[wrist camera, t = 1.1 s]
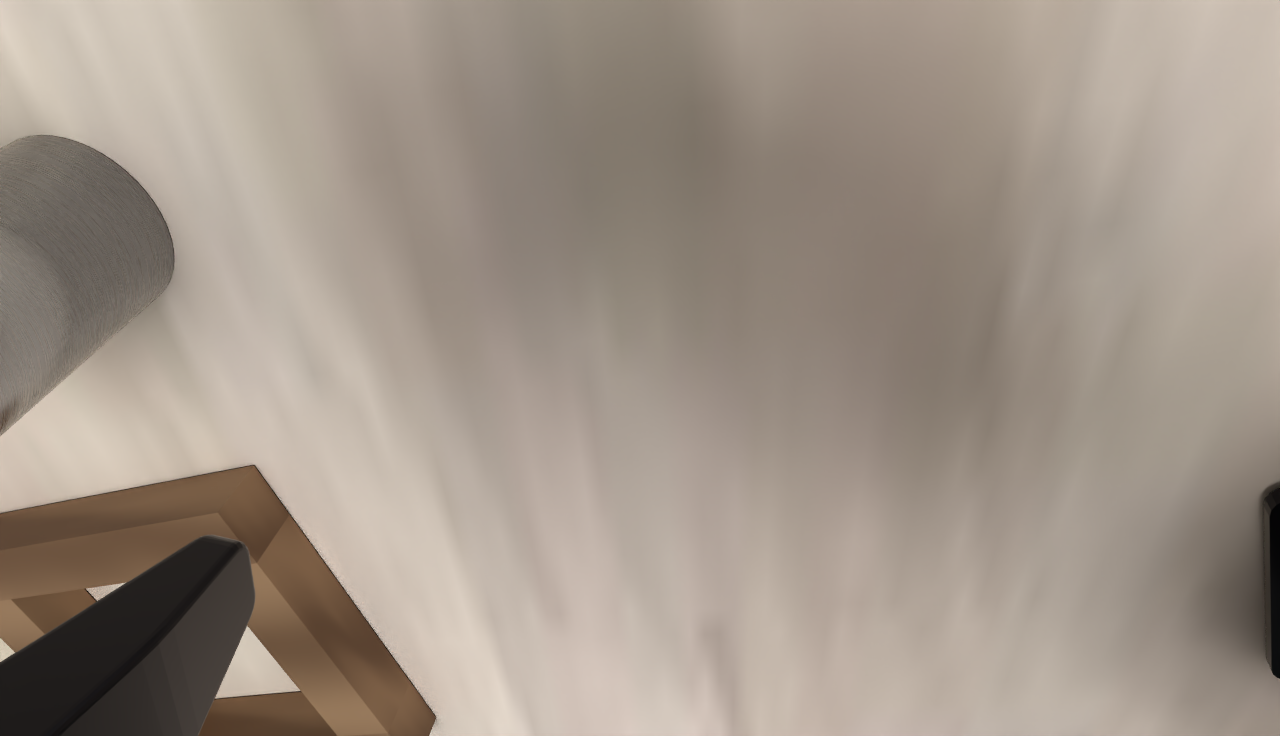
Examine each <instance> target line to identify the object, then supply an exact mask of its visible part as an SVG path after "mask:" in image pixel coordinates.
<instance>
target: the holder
mask: <svg viewBox="0 0 1280 736" xmlns="http://www.w3.org/2000/svg"><path fill="white" fill-rule="evenodd" d="M204 535H216V536H221V537H225V538H230V539H234V540H238V541H241V542H243V543H244V544H245V545H246V546H247V547H248V551H249V555H250V561H251V568H252V574H253V580H254V587H255V604H254V609H253V612H252V615H251V618H250V620H249V622H248V625H247V626H248V627H249V628H250V629H251V631H252V632H253V633H254V634H255V636H256V637H257V638H258V639H259V640H260V642H261V643H262V644H263V645H264V647H265V648H266V649H267V650H268V651H269V653H270V654H271V655H272V656H273V658H274V659H275V660H276V661H277V662H278V664H279V665H280V666H281V667H282V669H283V670H284V671H285V672H286V673H287V675H288V676H289V677H290V678H291V680H292V681H293V682H294V683H295V684H296V686H297V687H298V688H299V689H300V691H301V692H293V693H282V694H271V695H260V696H248V697H237V698H226V699H215V700H214V701H213V703H212V706H211V708H210V710H209V712H208V715H207V717H206V719H205V721H204V724H203V726H202V728H201V730H200V733H199V735H198V736H429V734H430V732H431V729H432V727H433V724H434V722H435V719H436V717H435V716H434V714H433V713H432V711H431V710H430V709H429V707H428V706H427V705H426V703H425V702H424V700H423V699H422V698H421V696H420V695H419V693H418V692H417V691H416V689H415V688H414V687H413V685H412V684H411V682H410V681H409V680H408V678H407V677H406V675H405V674H404V673H403V671H402V670H401V669H400V667H399V666H398V664H397V663H396V662H395V660H394V659H393V657H392V656H391V655H390V653H389V652H388V650H387V649H386V648H385V646H384V645H383V644H382V642H381V641H380V639H379V638H378V637H377V635H376V634H375V632H374V631H373V630H372V628H371V627H370V626H369V624H368V623H367V621H366V620H365V619H364V617H363V616H362V614H361V613H360V612H359V610H358V609H357V608H356V606H355V605H354V603H353V602H352V601H351V599H350V598H349V596H348V595H347V594H346V592H345V591H344V590H343V588H342V587H341V585H340V584H339V583H338V581H337V580H336V578H335V577H334V576H333V574H332V573H331V571H330V570H329V569H328V567H327V566H326V565H325V563H324V562H323V560H322V559H321V558H320V556H319V555H318V553H317V552H316V551H315V549H314V548H313V547H312V545H311V544H310V542H309V541H308V540H307V538H306V537H305V535H304V534H303V533H302V531H301V530H300V529H299V527H298V526H297V524H296V523H295V522H294V520H293V519H292V517H291V516H290V515H289V513H288V512H287V511H286V509H285V508H284V506H283V505H282V504H281V502H280V501H279V499H278V498H277V497H276V495H275V494H274V492H273V491H272V490H271V488H270V487H269V486H268V484H267V483H266V481H265V480H264V479H263V477H262V476H261V474H260V473H259V472H258V470H257V469H256V468H255V466H254V465H253V466H248V467H242V468H237V469H232V470H227V471H221V472H216V473H211V474H206V475H200V476H195V477H190V478H185V479H180V480H174V481H169V482H164V483H159V484H153V485H148V486H143V487H138V488H132V489H127V490H122V491H117V492H111V493H106V494H101V495H96V496H90V497H85V498H80V499H75V500H69V501H64V502H59V503H54V504H48V505H43V506H38V507H33V508H27V509H22V510H17V511H12V512H6V513H1V514H0V638H1V639H2V640H3V641H4V642H5V643H6V644H7V645H8V646H9V647H10V648H11V649H12V650H13V651H14V652H15V653H16V652H17V651H19V650H21V649H22V648H24V647H25V646H27V645H29V644H30V643H32V642H33V641H35V640H36V639H38V638H40V637H41V636H43V635H44V634H46V633H48V632H49V631H51V630H52V629H54V628H56V627H57V626H59V625H60V624H62V623H63V622H65V621H67V620H68V619H70V618H71V617H73V616H75V615H76V614H78V613H79V612H81V611H82V610H84V609H86V608H87V607H89V606H90V605H92V604H94V603H95V602H96V601H95V600H94V599H93V598H92V597H91V596H90V595H89V594H88V592H87V591H86V590H85V588H92V587H99V586H105V585H112V584H119V583H126V582H129V581H130V580H132V579H133V578H135V577H136V576H138V575H140V574H141V573H143V572H144V571H146V570H148V569H149V568H151V567H152V566H154V565H155V564H157V563H159V562H160V561H162V560H163V559H165V558H167V557H168V556H170V555H171V554H173V553H175V552H176V551H178V550H179V549H181V548H182V547H184V546H186V545H187V544H189V543H190V542H192V541H194V540H195V539H197V538H199V537H201V536H204Z"/></svg>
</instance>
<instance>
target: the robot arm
mask: <svg viewBox="0 0 1280 736" xmlns="http://www.w3.org/2000/svg"><path fill="white" fill-rule="evenodd" d="M1263 515H1264V569H1265V624H1266V658H1267V661H1268V663H1269V666H1270V668H1271V670H1272V673H1273V675H1275V676H1276V677H1277V678H1279V679H1280V488H1279V489H1277V490H1275V491H1273V492H1271V493H1270V494H1269V495H1268V496H1267V497H1266V498H1265V501H1264V504H1263ZM254 604H255V587H254V580H253V574H252V568H251V561H250V555H249V551H248V547H247V546H246V545H245V544H244V543H243V542H241V541H238V540H234V539H230V538H225V537H221V536H216V535H204V536H201V537H199V538H197V539H195V540H194V541H192V542H190V543H189V544H187V545H186V546H184V547H182V548H181V549H179V550H178V551H176V552H175V553H173V554H171V555H170V556H168V557H167V558H165V559H163V560H162V561H160V562H159V563H157V564H155V565H154V566H152V567H151V568H149V569H148V570H146V571H144V572H143V573H141V574H140V575H138V576H136V577H135V578H133V579H132V580H130V581H129V582H127V583H125V584H124V585H122V586H121V587H119V588H117V589H116V590H114V591H113V592H111V593H109V594H108V595H106V596H105V597H103V598H102V599H100V600H98V601H97V602H95V603H94V604H92V605H90V606H89V607H87V608H86V609H84V610H82V611H81V612H79V613H78V614H76V615H75V616H73V617H71V618H70V619H68V620H67V621H65V622H63V623H62V624H60V625H59V626H57V627H56V628H54V629H52V630H51V631H49V632H48V633H46V634H44V635H43V636H41V637H40V638H38V639H36V640H35V641H33V642H32V643H30V644H29V645H27V646H25V647H24V648H22V649H21V650H19V651H17V652H16V653H14V654H13V655H11V656H10V657H8V658H6V659H5V660H3V661H2V662H0V736H198V735H199V733H200V730H201V728H202V726H203V724H204V721H205V719H206V717H207V715H208V712H209V710H210V708H211V706H212V703H213V701H214V699H215V697H216V694H217V692H218V690H219V688H220V685H221V683H222V681H223V679H224V676H225V674H226V672H227V670H228V667H229V665H230V663H231V661H232V658H233V656H234V654H235V652H236V649H237V647H238V645H239V643H240V640H241V638H242V636H243V634H244V631H245V629H246V627H247V625H248V622H249V620H250V618H251V615H252V612H253V609H254Z"/></svg>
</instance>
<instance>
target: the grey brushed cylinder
mask: <svg viewBox="0 0 1280 736" xmlns="http://www.w3.org/2000/svg"><path fill="white" fill-rule="evenodd" d="M173 266H174V253H173V246H172V241H171V237H170V234H169V231H168V228H167V226H166V224H165V221H164V219H163V217H162V215H161V213H160V212H159V210H158V208H157V207H156V205H155V203H154V202H153V201H152V199H151V198H150V197H149V195H148V194H147V193H146V191H145V190H144V189H143V188H142V187H141V186H140V185H139V184H138V182H137V181H136V180H135V179H134V178H132V177H131V176H130V175H129V174H128V173H127V172H126V171H125V170H124V169H122V168H121V167H120V166H119V165H117V164H116V163H115V162H113V161H112V160H110V159H109V158H107V157H106V156H104V155H103V154H101V153H99V152H97V151H96V150H94V149H92V148H90V147H88V146H85V145H83V144H81V143H78V142H75V141H72V140H69V139H66V138H61V137H55V136H45V135H38V136H28V137H25V138H21V139H18V140H16V141H14V142H12V143H10V144H8V145H6V146H5V147H3V148H1V149H0V436H1V435H2V434H3V433H4V432H5V431H7V430H8V429H9V428H10V427H11V426H12V425H13V424H15V423H16V422H17V421H18V420H19V419H20V418H21V417H22V416H24V415H25V414H26V413H27V412H28V411H29V410H30V409H31V408H33V407H34V406H35V405H36V404H37V403H38V402H39V401H41V400H42V399H43V398H44V397H45V396H46V395H47V394H48V393H50V392H51V391H52V390H53V389H54V388H55V387H56V386H57V385H59V384H60V383H61V382H62V381H63V380H64V379H65V378H66V377H68V376H69V375H70V374H71V373H72V372H73V371H74V370H76V369H77V368H78V367H79V366H80V365H81V364H82V363H83V362H85V361H86V360H87V359H88V358H89V357H90V356H91V355H92V354H94V353H95V352H96V351H97V350H98V349H99V348H100V347H102V346H103V345H104V344H105V343H106V342H107V341H108V340H109V339H111V338H112V337H113V336H114V335H115V334H116V333H117V332H118V331H120V330H121V329H122V328H123V327H124V326H125V325H126V324H127V323H129V322H130V321H131V320H132V319H133V318H134V317H135V316H137V315H138V314H139V313H140V312H141V311H142V310H143V309H144V308H146V307H147V306H148V305H149V304H150V303H151V302H152V301H153V300H155V299H156V298H157V297H158V296H159V295H160V294H161V293H162V292H163V291H164V290H165V288H166V287H167V285H168V283H169V281H170V279H171V276H172V272H173Z"/></svg>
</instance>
